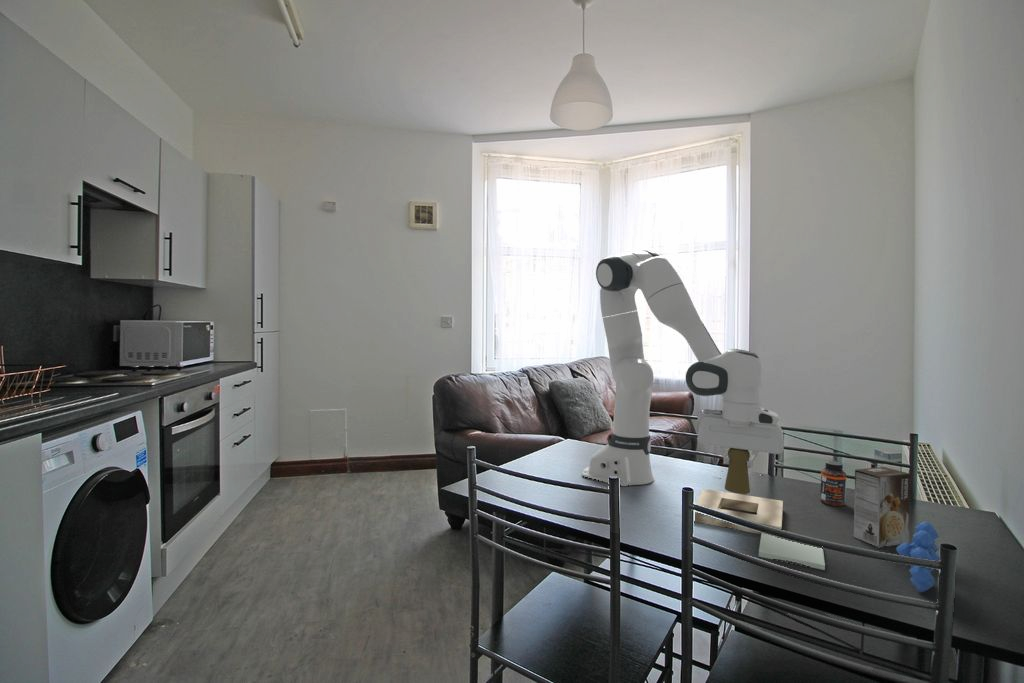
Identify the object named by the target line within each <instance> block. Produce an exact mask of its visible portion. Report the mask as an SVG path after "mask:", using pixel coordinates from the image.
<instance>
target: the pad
mask: <svg viewBox="0 0 1024 683" xmlns="http://www.w3.org/2000/svg"><path fill="white" fill-rule="evenodd" d="M759 557H760V558H764V559H769V560H773V559H781V560H785V561H786V560H788V561H792V562H797V563H801V564H804V565H806V566H805V567H807V566H810V567H809V568H812V569H813V568H814V569H817V570H822V571H825V570H826V563H825V555H824V548H823V549H822V548H817V547H813V546H809V545H804V544H800V543H797V542H792V541H788V540H785V539H781V538H777V537H775V536H771V535H768V534H764V533H762V534H760V541H759V548H758V558H759Z"/></svg>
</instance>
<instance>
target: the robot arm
mask: <svg viewBox="0 0 1024 683" xmlns="http://www.w3.org/2000/svg"><path fill="white" fill-rule="evenodd" d="M595 277H596V282H597V284H598V285H599V286H600V288H599V289H600V290H599V303H600V311H601V317H602V322H603V323H602V324H603V327H604V331H605V336H606V342H607V348H608V349H607V350H608V356H609V361H610V362H609V363H610V370H611V375H612V379H613V381H614V382H615V396H614V407H613V431H612V430H611V432H609V434H607V436H606V441H607V444H606V445H604V446H602V448H600V449H598V450H596V452H593V454H592V455H591V458H590V460H589V465H588V466H587V467H585V468H584V469H583V470H582V471H581V476H582V475H583V476H585V477H588V478H587V479H589V478H592V479H591V480H594V479H596V480H595V481H598V480H599V482H602V481H603V482H602V483H606V484H609V483H608V477H609V476H617V477H619V478H620V484H621V487H628V485H629V486H637V485H638V486H639V485H647V484H651V483H653V482H654V481H655V478H654V475H653V470H652V466H651V458H650V457H651V456H650V453H651V450H652V449H651V447H652V443H651V442H652V441H651V435H650V408H651V402H652V395H653V386H654V385H653V383H654V372H653V368H652V367H651V365H650V364H649V363H648V362H647V361H646V360H645V353H644V343H643V332H642V328H641V327H642V326H641V323H640V322H641V321H640V317H639V312H638V308H637V303H636V298H635V296H636V292H637V291H638V290H640V291H641V292H642V295H643V296H644V299H645V302H646V304H647V306H648V307H649V308H648V309H650V311H651V312H652V314H653V315H654V317H655V318H656V319H657V321H658V322H660V323H661V324H663V325H665V326H667V327H669V328H671V329H673V330H675V331H676V332H677V333H679V334H680V335H681V336H682V337H683V338H684V339H685V341H686V343H687V344H688V345H689V348H690V349H691V351H692V353H693V354H694V356H695V358H696V359H697V362H694V363H692V364H691V365H690V366H689V367H688V369H687V370H686V372H685V384H686V385H687V388H688V390H689V391H690V392H692V393H693V394H695V395H697V396H700V397H701V396H702V397H713V396H721V397H722V406H721V407H722V408H721V409H708V408H705V409H703V410H700V411H699V412H698V413H697V423H698V424H699V426H698V430H697V431H698V432H697V439H696V440H697V442H698V443H699V444H701V445H706V446H713V447H714V446H715V447H719V448H718V449H719V453H720V455H721V456H722V458H723V461H722V464H723V465H728V466H729V464H730V458H729V457H728V454H727V453H726V452H725V451H726V449H727V448H729V449H730V448H735V449H743V450H748V451H749V452H750V451H751V454H752V457H751V458H750V459H749V460H748V461H747V467H748V469H753V468H754V462H755V461H756V459H757V458H759V453H767V454H773V455H781V454H782V453H783V452H784V434H783V429H782V426H781V425H780V424H779V422H780V415H779V414H778V413H777V412H774V411H772V410H770V409H766V408H764V407H761V398H760V390H761V387H762V365H761V360H760V357H759V355H757V354H756V353H755V352H752V351H749V350H745V349H738V348H730V349H728V350H726V351H725V352H723V353H722V352H721V351H720V350H719V348H718V346H717V345H716V343H715V341H714V339H713V337H712V335H711V334H710V332H709V331H708V329H707V328H706V326H705V324H704V323H703V321H702V319H701V318H700V314H699V313H698V311H697V310H696V307H695V306H694V302H693V300H692V298H691V297H690V294H689V293H688V291H687V288H686V286H685V284H684V282H683V280H682V279H681V277H680V275H679V274H678V272H677V270H676V269H675V268H674V267H673V265H672V264H671V262H670V261H669V260H668V259H667V258H665V257H663V256H660V255H659V254H658V253H657V252H654V251H652V250H640V251H638V250H637V251H636V250H635V251H627V252H624V253H621V254H620V253H619V254H616V255H608V256H607V257H604V258H603V259H601V260H600V261H599V262H598V263H597V266H596V269H595ZM583 476H582V477H583ZM585 477H584V478H585Z"/></svg>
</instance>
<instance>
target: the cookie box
mask: <svg viewBox="0 0 1024 683" xmlns="http://www.w3.org/2000/svg"><path fill="white" fill-rule="evenodd" d="M910 505H911V473H909V472H905V471H903V470H901V471H900V470H898V469H894V468H890V467H886V466H880V467H879V466H878V467H876V466H875V467H868V468H860V469H859V468H858V469H854V507H853V508H854V509H853V510H854V511H853V512H854V516H853V518H854V520H853V538H856V539H858V540H860V541H862V542H865V543H867V544H868V545H869V544H870V545H871V544H872V546H874V545H875V546H874V547H876V546H878V547H881V548H884V547H883V546H887V547H893V546H899V545H901V544H902V543H906V542H907V543H909V544H910V507H911V506H910ZM892 545H893V546H892ZM878 547H877V548H878Z"/></svg>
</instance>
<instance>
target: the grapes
mask: <svg viewBox="0 0 1024 683" xmlns="http://www.w3.org/2000/svg"><path fill="white" fill-rule="evenodd" d="M914 530H915V532H916V533H914V534H913V535H912V536H911V538H912V539H911V540H910V541H911V543H910V542H909V543H907V542H906V543H902V544H899V545H897V547H896V548H895V550H896V552H897V553H898V555H899V556H900V555H904V556H909V557H914V558H921V559H928V560H935V561H939V560H940V559H941V557H940V556H939V555H938V554H937V551H939V548H938V546H937V544H935V543H936V541H935V540H936V539H938V538H939V534H938V532H937V531H936V529H935V527H934V526H933V525H932V524H931V523H929V522H928V521H922V522H921V523H919V524H918V525H916V526H915V527H914ZM909 566H910V569H908V571H909V572H910V574H911V577H910V578H909V580H910V581H911V583H912V584H913V586H914V588H915V589H917V590H918V591H919V592H922V593H923V592H926V591H928V590H930V589H931V588H932V587H933V586H934V583H935V582H936V580H935V578H934V577H933V575H932V572H933V571H934V570H935V569H931V568H926V567H919V566H911V565H909Z"/></svg>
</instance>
